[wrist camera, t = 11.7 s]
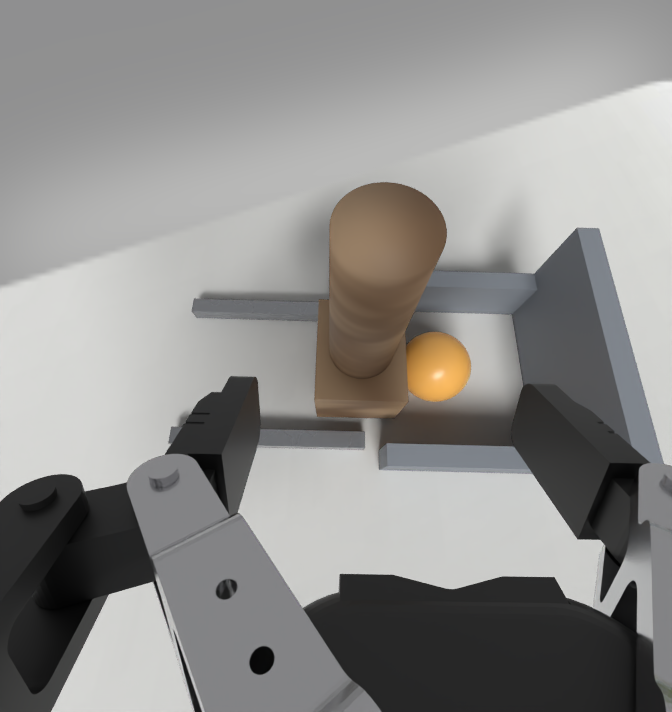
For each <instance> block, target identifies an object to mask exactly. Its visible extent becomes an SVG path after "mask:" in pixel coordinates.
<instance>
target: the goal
mask: <svg viewBox="0 0 672 712" xmlns="http://www.w3.org/2000/svg"><path fill="white" fill-rule="evenodd" d="M415 312H451V313H486V314H512V315H513V322H514V328H515V334H516V340H517V347H518V353H519V359H520V365H521V372H522V378H523V384H524V385H526V384H528V383H531V384H555V385H556V386H558V387H559V388H560V389H561V390H562V391H563V392H564V393H565V394H567V395H568V396H569V397H570V398H571V399H572V400H573V401H574V402H576V403H578V404H580V405H582V406H584V407H585V408H587V409H589V410H591V411H592V412H593V413H594V414H595V415H597V416H598V417H599V418H600V419H601V420H602V421H603V422H604V424H607V425H608V426H609V427H610V428H611V429H613V430H614V433H615V434H618V435H619V436H621V437H622V438H623V439H624V440H625V441H626V442H627V443H629V444H630V445H631V446H632V447H633V448H634V449H635V450H637V451H638V452H639V453H640V454H641V455H642V456H643V457H645V458H646V459H647V460H648V461H649V462H650V463H660V464H664V462H663V459H662V455H661V452H660V448H659V444H658V441H657V437H656V433H655V430H654V426H653V423H652V419H651V415H650V412H649V408H648V404H647V401H646V397H645V394H644V390H643V386H642V383H641V379H640V375H639V372H638V368H637V364H636V361H635V357H634V354H633V350H632V346H631V343H630V339H629V335H628V332H627V328H626V325H625V321H624V317H623V314H622V310H621V306H620V303H619V299H618V296H617V292H616V288H615V285H614V281H613V277H612V274H611V270H610V267H609V263H608V259H607V256H606V252H605V248H604V245H603V241H602V238H601V234H600V230H599V228H576V229H575V231H574V232H573V233H572V234H571V235H570V236H569V237H568V238H567V239H566V240H565V241H564V242H563V243H562V244H561V246H560V247H559V248H558V249H557V250H556V251H555V252H554V253H553V254H552V255H551V256H550V257H549V258H548V260H547V261H546V262H545V263H544V264H543V265H542V266H541V267H540V268H539V269H538V270H537V271H536V272H535V274H527V273H492V272H458V271H433V273H432V275H431V277H430V279H429V281H428V283H427V285H426V288H425V290H424V292H423V294H422V296H421V298H420V300H419V303H418V305H417V307H416V309H415ZM379 470H403V471H443V472H484V473H525V474H533V473H532V472H531V471H530V469H529V468H528V466H527V465H526V463H525V462H524V460H523V459H522V457H521V456H520V455H519V453H518V452H517V450H516V449H515V447H514V446H476V445H437V444H397V443H387V444H386V445H384V446H383V447H382V448H381V449H380V450H379Z"/></svg>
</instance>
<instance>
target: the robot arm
mask: <svg viewBox="0 0 672 712" xmlns="http://www.w3.org/2000/svg"><path fill="white" fill-rule="evenodd" d="M260 425H261V424H260V407H259V393H258V382H257V378H256V377H238V376H231V377H230V378H229V379H228V381H227V383H226V385H225V387H224V388H223V390H222V392H211V393H210V394H208V395H207V396H206V397H204V398H203V399H201V400H200V401H199V402H198V403H197V405H196V406H195V408H194V409H193V411H192V414H191V415H190V416H189V417H188V419H187V420H186V424H184V425H183V427H182V428H181V430H180V431H179V433H178V435H177V436H176V438H175V439H174V441H173V442H172V444H171V446H170V447H169V449H168V450H167V452H166V453H165V455H162V456H159V457H156V458H153V459H151V460H149V461H147V462H145V463H143V464H142V465H140V466H139V467H138V468H137V469H135V470H134V471H133V473H132V474H131V475H130V477H129V479H128V481H127V482H126V483H123V484H119V485H114V486H110V487H105V488H100V489H95V490H90V491H84V488H83V485H82V482H81V481H80V479H78V478H77V477H75V476H72V475H66V474H59V475H51V476H47V477H43V478H39V479H37V480H34V481H31V482H29V483H27V484H25V485H23V486H21V487H19V488H17V489H16V490H14V491H13V492H11V493H10V494H9V495H7V496H6V497H5V498H4V499H3V500H2V501H1V502H0V712H51V710H52V708H53V706H54V704H55V702H56V700H57V698H58V696H59V694H60V692H61V690H62V688H63V686H64V684H65V682H66V680H67V678H68V676H69V674H70V672H71V670H72V668H73V666H74V664H75V662H76V660H77V658H78V656H79V654H80V652H81V650H82V648H83V646H84V644H85V641H86V639H87V637H88V635H89V633H90V631H91V629H92V627H93V625H94V623H95V621H96V619H97V617H98V615H99V613H100V611H101V609H102V607H103V605H104V603H105V601H106V599H107V597H108V595H109V594H111V593H115V592H118V591H122V590H125V589H129V588H132V587H136V586H139V585H143V584H146V583H150V582H153V585H154V588H155V591H156V594H157V598H158V601H159V604H160V607H161V610H162V613H163V616H164V619H165V622H166V625H167V628H168V632H169V635H170V638H171V641H172V644H173V647H174V650H175V653H176V657H177V660H178V663H179V666H180V670H181V673H182V677H183V680H184V683H185V687H186V690H187V693H188V696H189V699H190V703H191V706H192V709H193V712H672V466H670V465H666V464H660V463H650V462H649V461H648V460H647V459H646V458H645V457H643V456H642V455H641V454H640V453H639V452H638V451H637V450H635V449H634V448H633V447H632V446H631V445H630V444H629V443H627V442H626V441H625V440H624V439H623V438H622V437H621V436H619V435H618V434H615V433H614V430H613V429H611V428H610V427H609V426H608V425H607V424H604V422H603V421H602V420H601V419H600V418H599V417H598V416H597V415H595V414H594V413H593V412H592V411H591V410H589V409H587V408H585V407H584V406H582V405H580V404H578V403H576V402H574V401H573V400H572V399H571V398H570V397H569V396H568V395H567V394H565V393H564V392H563V391H562V390H561V389H560V388H559V387H558V386H556V385H555V384H531V383H528V384H526V385H524V387H523V388H522V391H521V394H520V398H519V402H518V405H517V409H516V413H515V416H514V420H513V424H512V429H511V437H512V442H513V445H514V447H515V449H516V450H517V452H518V453H519V455H520V456H521V457H522V459H523V460H524V462H525V463H526V465H527V466H528V468H529V469H530V471H531V472H532V473H533V475H534V476H535V478H536V479H537V481H538V482H539V484H540V485H541V487H542V488H543V489H544V491H545V492H546V494H547V495H548V497H549V498H550V500H551V501H552V503H553V504H554V505H555V507H556V508H557V510H558V511H559V513H560V514H561V516H562V517H563V519H564V520H565V521H566V523H567V524H568V526H569V527H570V529H571V530H572V532H573V533H574V535H575V536H576V537H577V539H592V540H601V541H602V542H603V543H604V545H603V547H602V550H601V552H600V554H599V561H598V569H597V577H596V586H595V594H594V603H593V608H592V607H590V606H587V605H585V604H582V603H580V602H577V601H574V600H571V599H568V598H566V597H565V595H564V594H563V592H562V590H561V588H560V586H559V585H558V583H557V581H556V579H555V577H499V578H495V579H491V580H488V581H484V582H480V583H477V584H473V585H469V586H466V587H462V588H458V589H445V588H441V587H437V586H433V585H430V584H426V583H422V582H418V581H414V580H410V579H407V578H403V577H399V576H395V575H368V574H340V579H339V592H338V593H335V594H331V595H328V596H326V597H323V598H321V599H319V600H316V601H314V602H313V603H311V604H309V605H307V606H306V607H304V608H302V607H301V605H300V604H299V602H298V600H297V599H296V597H295V596H294V594H293V593H292V591H291V590H290V588H289V587H288V585H287V584H286V582H285V580H284V579H283V577H282V576H281V574H280V573H279V571H278V570H277V568H276V567H275V565H274V564H273V562H272V561H271V559H270V557H269V556H268V554H267V553H266V551H265V550H264V548H263V547H262V545H261V544H260V542H259V541H258V539H257V538H256V536H255V534H254V533H253V531H252V530H251V528H250V527H249V525H248V524H247V522H246V521H245V519H244V518H243V517H242V516H241V515H240V514H239V513H237V512H238V509H239V506H240V502H241V499H242V496H243V492H244V489H245V486H246V482H247V479H248V476H249V472H250V469H251V466H252V462H253V459H254V456H255V452H256V449H257V446H258V442H259V437H260Z"/></svg>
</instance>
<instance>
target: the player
mask: <svg viewBox="0 0 672 712" xmlns="http://www.w3.org/2000/svg"><path fill="white" fill-rule="evenodd" d="M446 237H447V229H446V223H445V220H444V217H443V215H442V213H441V211H440V210H439V209H438V207H437V206H436V205H435V204H434V202H433V201H432V200H430V199H429V198H428V197H427V196H426V195H424V194H423V193H421V192H419V191H418V190H416V189H413V188H411V187H409V186H405V185H402V184H397V183H388V182H380V183H372V184H368V185H364V186H361V187H358V188H356V189H354V190H352V191H351V192H349V193H348V194H347V195H345V196H344V197H343V198H342V199H341V200H340V201H339V202H338V204H337V205H336V207H335V208H334V210H333V213H332V215H331V219H330V239H329V300H324V299H319V307H318V330H317V352H316V375H315V398H314V400H315V406H316V413H317V417H350V418H389V419H394V418H395V417H396V416H397V415H398V413H399V412H400V411H401V410H402V409H403V408H404V406H405V405H406V404H407V403H408V380H407V359H406V337H405V330H406V328H407V326H408V324H409V322H410V320H411V318H412V315H413V313H414V311H415V309H416V307H417V305H418V303H419V300H420V298H421V296H422V294H423V292H424V290H425V288H426V285H427V283H428V281H429V279H430V277H431V275H432V273H433V270H434V268H435V266H436V264H437V262H438V260H439V258H440V255H441V253H442V251H443V249H444V246H445V243H446Z"/></svg>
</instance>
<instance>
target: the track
mask: <svg viewBox="0 0 672 712" xmlns="http://www.w3.org/2000/svg"><path fill="white" fill-rule="evenodd" d="M318 307H319V302H297V301H262V300H227V299H194V301H193V307H192V312H193V314H194V315H195V316H196V318H226V319H262V320H297V321H318ZM181 428H182V427H171V431H170V437H169V443H170V444H172V442H173V441H174V439H175V438H176V436H177V435H178V433H179V431H180V430H181ZM257 447H268V448H308V449H347V450H364V448H365V432H359V431H320V430H281V429H260V437H259V442H258V446H257Z"/></svg>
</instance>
